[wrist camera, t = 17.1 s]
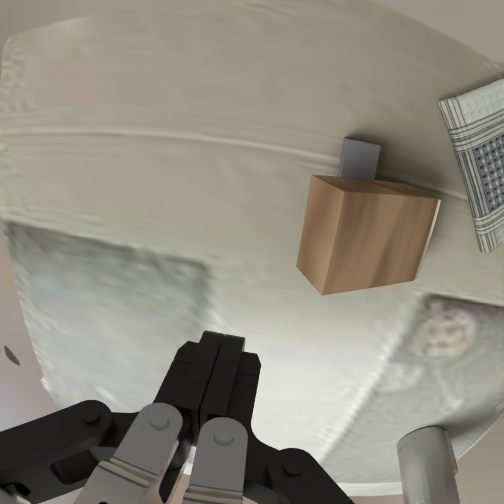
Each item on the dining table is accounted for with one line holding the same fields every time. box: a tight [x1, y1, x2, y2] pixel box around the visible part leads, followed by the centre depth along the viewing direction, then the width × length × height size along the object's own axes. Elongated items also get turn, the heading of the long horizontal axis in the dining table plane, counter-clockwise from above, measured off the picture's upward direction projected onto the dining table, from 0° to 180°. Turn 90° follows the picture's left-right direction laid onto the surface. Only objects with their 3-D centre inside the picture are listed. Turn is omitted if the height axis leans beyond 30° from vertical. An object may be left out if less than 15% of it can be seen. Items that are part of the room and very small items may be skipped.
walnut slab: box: [296, 175, 441, 295], centre depth 25 cm, size 4×8×11 cm
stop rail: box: [338, 138, 381, 180], centre depth 29 cm, size 3×14×2 cm, turn 174°
